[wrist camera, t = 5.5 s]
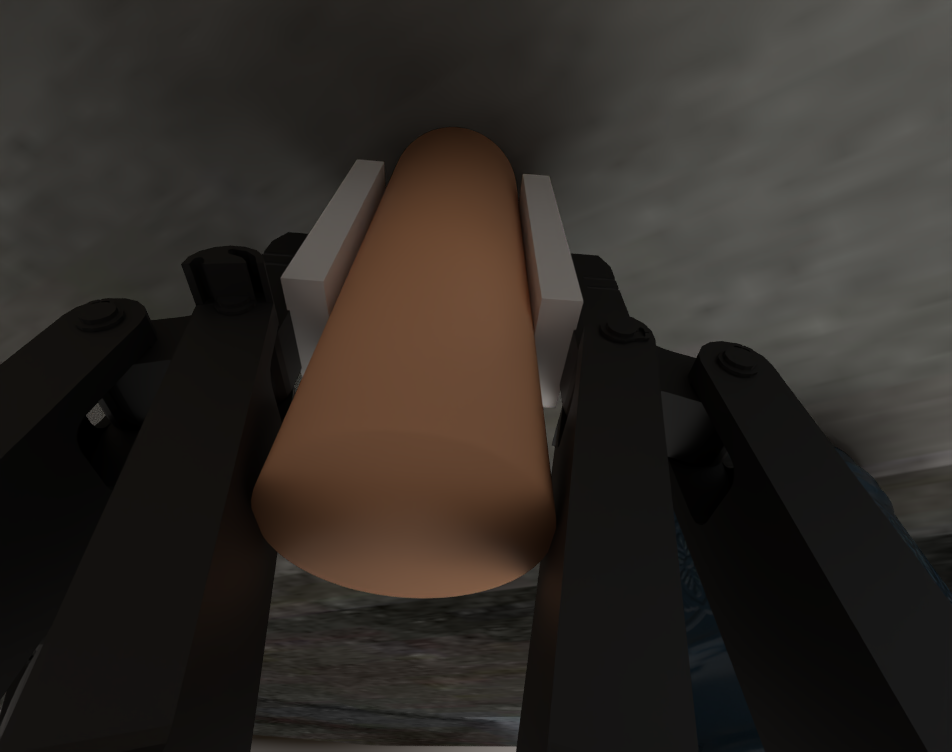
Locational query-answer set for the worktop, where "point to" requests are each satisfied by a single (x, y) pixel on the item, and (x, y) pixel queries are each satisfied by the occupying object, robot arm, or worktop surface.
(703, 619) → the canister
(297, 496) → the peg
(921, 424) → the worktop surface
